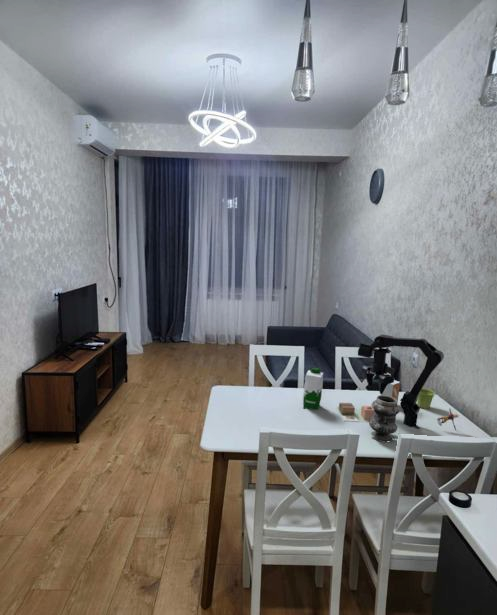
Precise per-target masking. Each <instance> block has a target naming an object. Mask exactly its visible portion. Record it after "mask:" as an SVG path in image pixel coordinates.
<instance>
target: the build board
mask: <svg viewBox="0 0 497 615" xmlns="http://www.w3.org/2000/svg"><path fill="white" fill-rule="evenodd" d="M334 408H335V410H336V411H337V413H338V415H339V416H340V418H341V419H342V420H343V422H345V423H346V422H347V423H349V422H351V423H353V422H354V423H369V420H364V419H363V418H362V417H361V409H362V408H356V407H355V412H354V416H350V415H342V414H341V413H340V411H339V407H334Z"/></svg>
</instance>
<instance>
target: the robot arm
mask: <svg viewBox="0 0 497 615" xmlns="http://www.w3.org/2000/svg"><path fill="white" fill-rule="evenodd" d="M391 347H403V348H404V347H405V348H418V349H419V350H420V351H421V352H422V353H423V355H424V356H425V357H426V362H425V364H424V368H423V369H422V371H421V373H420V375H419V376H418V378H417V379H416V381H415V383H414V384H413V386H412V388H411V390H410V391H409V390H406V391H405V392H404V393H403V396H402V398H400V399H399V401H400V403H399V404H400V405H399V406H400V409H402V412H403V415H404V416H403V425H405V426H407V427H409V428H415V429H420V427H419V425H418V423H417V421H418V413H419V412H420V410H421V407H419V406H418V405H417V399H418V396H419V393H420V391H421V390H422V389H424V386H425V385H426V383H427V381H428V379H429V378H430V377H431V375H432V373H433V371H434V370H435V369H436V368H437V367H438V366H439V365H440V364H441V363H442V362H443V360H444V358H445V355H444V353H443V352H442V350H440V349H437V348H436V347H435V346H434V345H432V344H431V343H430V342H429V341H427V339H425V338H411V337H410V338H408V337H394V336H391V335H389V334H388V335H387V334H380V335H378V336H376V337H375V338H374V340H373V343H371V344H369V343H365V342H361V343H360V344H359V347H358V349H357V356H358V357H362V358H367V359H370V358H371V357H373V359H372V360H371V361H370V363H371V364H372V365H363V366H362V369H361V372H363V375H364V377H365V380H366V382H367V385H368V387H369V388H372V386H373V382H374V378H375V376H376V377H378V381H377V382H378V389H379V390H378V391H379V394H380V395H381V394H383V392H384V390H385V388H386V386H387V385H388V384H390V383H394V380H395V378H394V376H393V375H394V372H395V370H396V369H395V368H393V367H391V366H389V364H388V363H387V362H386V359H387V355H388V354H390V353H392V351H391V349H389V348H391Z"/></svg>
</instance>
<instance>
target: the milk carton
mask: <svg viewBox="0 0 497 615" xmlns="http://www.w3.org/2000/svg"><path fill="white" fill-rule="evenodd" d="M323 382H324V372H321V370H320V367H311V370H307V372H306V374H305V379H304V388H303V397H302V398H303V400H302V401H303V403H302V404H303V407H302V408H303V409H304V410H306V409H309V410H310V409H311V410H318V409H319V407H320V405H321V404H320V403H321V400H322V393H323V385H324V383H323Z"/></svg>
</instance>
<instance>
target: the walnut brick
mask: <svg viewBox="0 0 497 615" xmlns="http://www.w3.org/2000/svg"><path fill="white" fill-rule="evenodd" d="M338 408H339V411H340V413H341V414H342V415H350V416H354V412H355V408H356V407H355V406H354V405H353V403H352V402H339V404H338Z"/></svg>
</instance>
